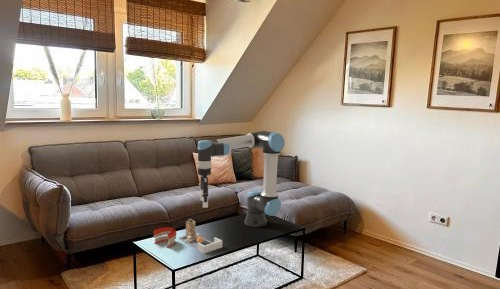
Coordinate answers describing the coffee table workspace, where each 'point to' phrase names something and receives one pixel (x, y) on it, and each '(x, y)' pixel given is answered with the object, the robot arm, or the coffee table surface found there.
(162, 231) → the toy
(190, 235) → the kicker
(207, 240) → the rails
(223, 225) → the coffee table surface
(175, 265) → the coffee table surface
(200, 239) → the ball
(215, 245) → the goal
